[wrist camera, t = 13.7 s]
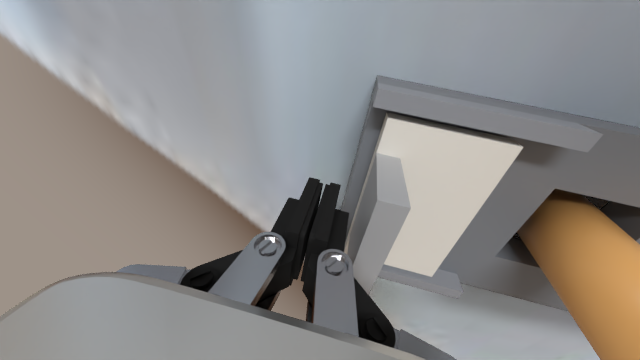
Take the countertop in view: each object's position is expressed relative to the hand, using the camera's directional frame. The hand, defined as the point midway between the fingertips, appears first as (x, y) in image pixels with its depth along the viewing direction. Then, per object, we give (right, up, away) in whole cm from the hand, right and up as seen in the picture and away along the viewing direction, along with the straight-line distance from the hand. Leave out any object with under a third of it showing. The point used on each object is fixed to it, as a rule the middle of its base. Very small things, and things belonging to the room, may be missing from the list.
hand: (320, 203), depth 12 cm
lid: (+5, 0, +1) cm, 6 cm away
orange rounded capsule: (+15, -1, +3) cm, 15 cm away
